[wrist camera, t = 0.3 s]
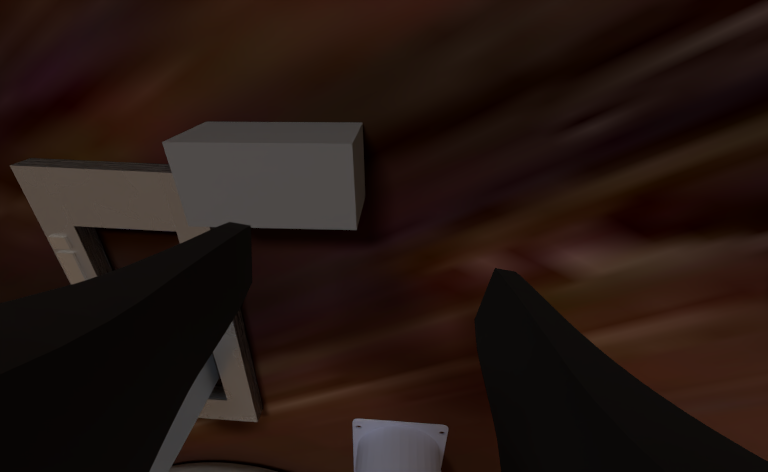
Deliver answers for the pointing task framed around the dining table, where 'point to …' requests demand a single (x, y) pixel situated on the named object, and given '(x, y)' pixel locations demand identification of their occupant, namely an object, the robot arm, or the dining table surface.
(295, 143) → the plug
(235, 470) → the bowl
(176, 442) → the plug
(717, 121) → the dining table surface
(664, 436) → the robot arm
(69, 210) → the panel
